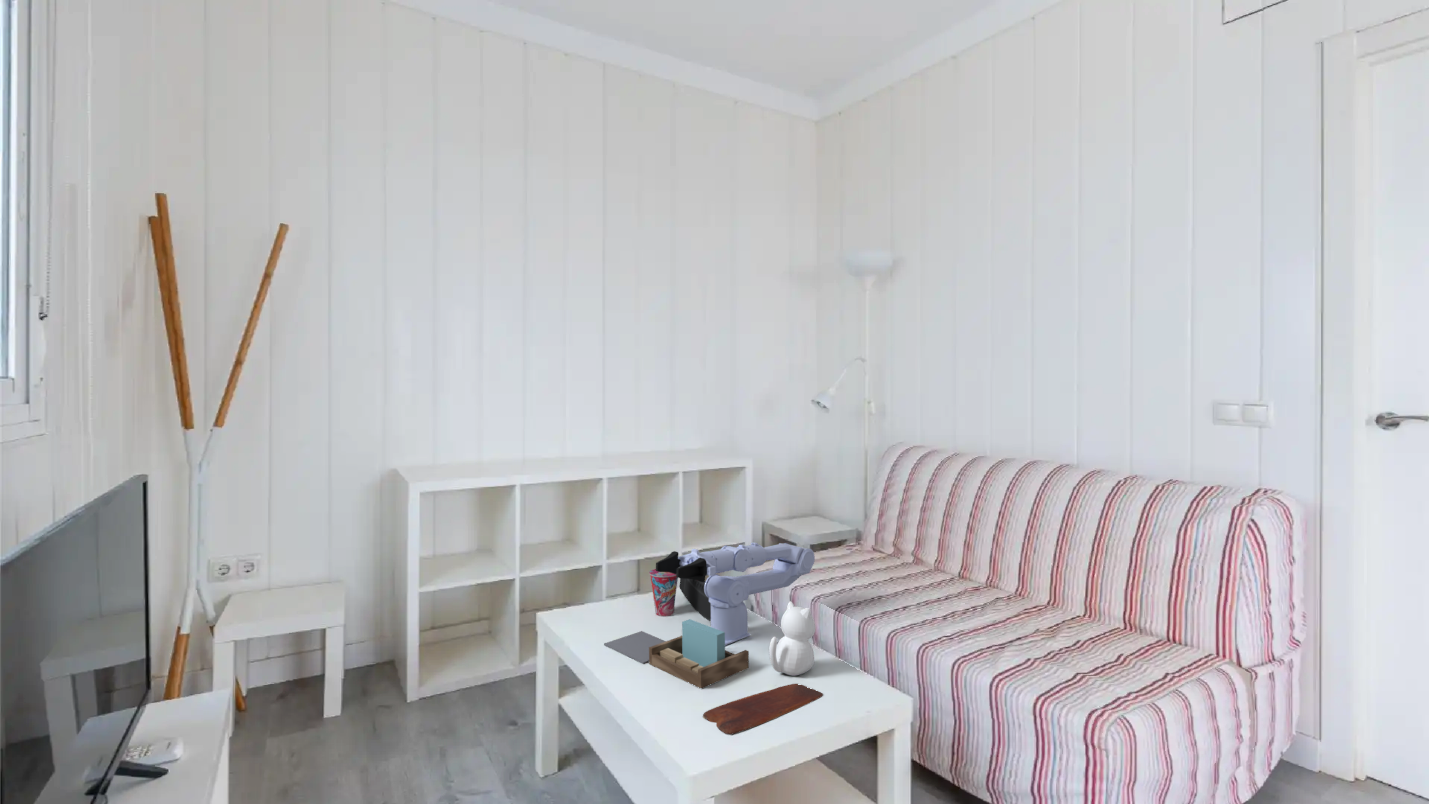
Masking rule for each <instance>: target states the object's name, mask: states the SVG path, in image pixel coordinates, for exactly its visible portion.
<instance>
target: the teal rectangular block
mask: <svg viewBox="0 0 1429 804" xmlns="http://www.w3.org/2000/svg"><path fill="white" fill-rule="evenodd" d="M681 622H682V623H681V626H682V627H681V634H682V635H681V636H682V654H683V658H684V657H685V658H687V659H689V660H692V661H694V662H696V663H698V664H699V666H702V667H705V666H707V665H710V664H712V663H715V662H717V661H720V660H722V659H725V650H726V645H725V632H723V631H720V630H717V629H715V628H712V627H711V626H709V625H707V624H704V623H702V622H698V621H697V620H694V619H691V618H690V619H686V620H684V621H681Z"/></svg>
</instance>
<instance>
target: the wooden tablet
mask: <svg viewBox="0 0 1429 804" xmlns="http://www.w3.org/2000/svg"><path fill="white" fill-rule="evenodd" d="M798 684H799V683H792V684H787V685H786V684H785V685H783V686H778V687H776V688H773V689H769V690H765V691H762V692H758V693H755V694H751V695H748V696H746V697H741V698H738V699H735V700H732V701H730V702H727V703H723V704H721V705H718V706H716V707H713V708H711V709H708V710H706V711H705V712H703V714H702V718H703V719H704V720H706V721H708V722H710V723H714V724H715V723H716V724H715V725H716V727H717V729H718V730H719V731H721V732H722V733H723V734H725V735H728V736H731V735H735V734H737V733H741V732H743V731H746V730H749V729H752V728H754V727H758V726H760V725H762V724H764V723H767V722H769V721H772V720H775V719H777V718H779V717H781V716H783V715H785V714H788V713H791V712H793V711H795V710H797V709H799V708H801V707H804V706H806V705H808V704H810V702H811V703H812V702H815V701H816V700H818V699H820V698H821V697H822V696H823V695H824V693H822V692H821V691H819V690H817V691H816V689H814V688H812V689H810V688H811V687H808V686H806V685H804V684H801V685H798ZM807 687H808V688H807Z"/></svg>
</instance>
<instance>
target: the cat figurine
mask: <svg viewBox="0 0 1429 804" xmlns="http://www.w3.org/2000/svg"><path fill="white" fill-rule="evenodd" d="M780 628H781V631H782V633H783V634H784V636H782V637H781V638H780V639H779V641H778V639H777V636H773V637H772V638H771V639H770V643H769V649H768V650H769V652H768V653H769V654H768V655H769V659H770V663H771V666H772V669H774V671H776V672H778V673H784V674H785V675H788V676H794V677H796V676H800V675H803V674H805V673H806V672H808V671H809V670H811V669H812V668H813V666H814V665H815V652H814V651H815V650H814V647H813V645H812V643H811V642H810V639H812V637H813V636H814V634H815V633H816V622H815V619H814V617H813V615H812V612H811V608H810V607H806V608H804V607H802V606H795V604H794V603H793V602H792V601H791V600H789V601H788V604H787V607H786V610H785V612H784V613H783V614H782V616H781V620H780Z"/></svg>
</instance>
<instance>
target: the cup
mask: <svg viewBox="0 0 1429 804" xmlns="http://www.w3.org/2000/svg"><path fill="white" fill-rule="evenodd" d="M649 575H650V581H651V589H652V597H653V601H654V602H653V603H654V604H653V605H654V610H655V615H656V616H658V617H671V616H672V615H674V613H675V605H676V593H677V587H678V579H679V578H677V577H676V574H673V573H671V572H658V571H656V568H654V569H652V570H650V571H649Z"/></svg>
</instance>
